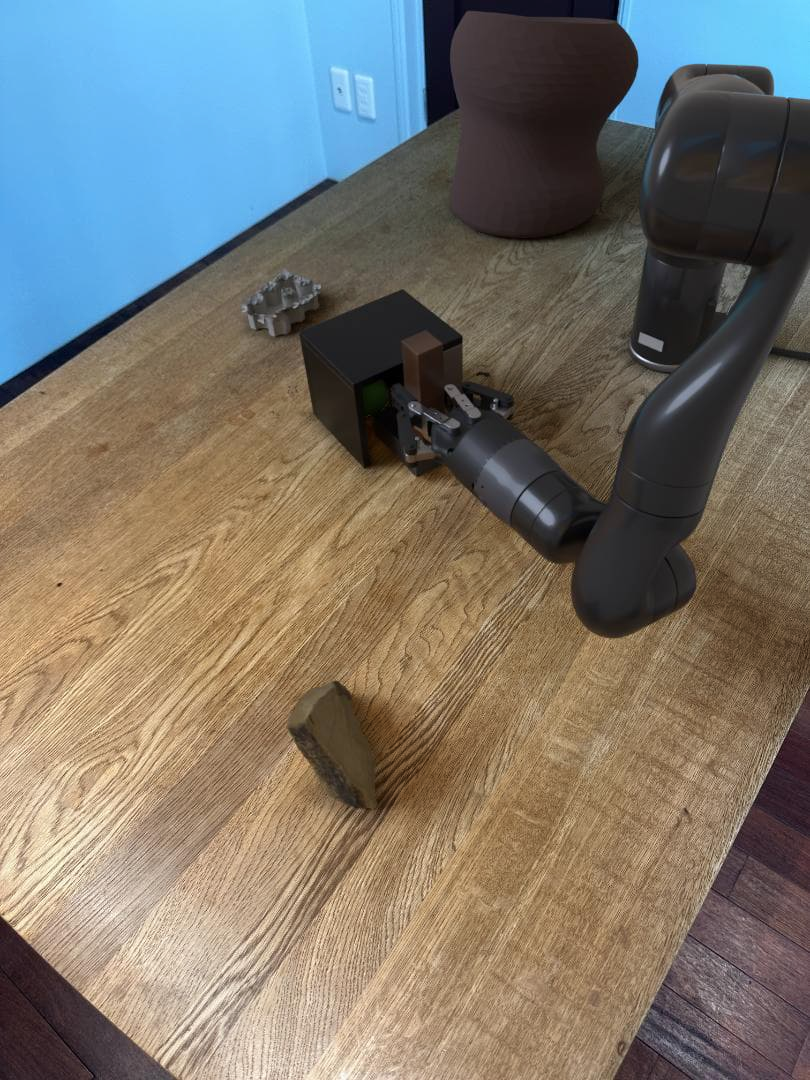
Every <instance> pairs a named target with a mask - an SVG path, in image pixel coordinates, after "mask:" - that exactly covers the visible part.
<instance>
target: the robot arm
mask: <svg viewBox="0 0 810 1080" xmlns="http://www.w3.org/2000/svg"><path fill="white" fill-rule="evenodd" d="M668 77H669V78H668V79H667V80H666V82H665V84H664V86H663V88H662V91H661V93H660V97H659V100H658V103H657V107H656V111H655V118H654V135H653V137H652V140H651V142H650V145H649V147H648V151H647V153H646V157H645V159H644V164H643V168H642V172H641V177H640V178H641V179H640V185H639V195H638V213H639V223H640V227H641V230H642V233H643V235H644V238H645V239H646V240H647V244H646V249H645V254H644V260H643V266H642V271H641V277H640V283H639V288H638V293H637V300H636V305H635V310H634V316H633V321H632V327H631V331H630V336H629V339H628V344H627V351H628V353H629V356H630V357H631V358H632V359H633V361H635V362H636V363H637V364H638V365H641V366H642V367H644V368H646V369H649V370H652V371H656V372H660V373H669V374H668V375H667V376H666V377H664V378H663V380H661V381H660V382H659V383H658V385H656V386H655V387H654V388H653V389H652V390H651V391H650V393H649V394H648V395H647V396H646V397H645V398H644V399H643V401H642V402H641V403H640V405H639V406H638V407H637V409H636V410H635V412H634V414H633V416H632V417H631V420H630V422H629V424H628V426H627V428H626V430H625V435H624V438H623V441H622V445H621V449H620V453H619V457H618V462H617V465H616V468H615V469H616V470H615V473H614V477H613V483H612V487H611V490H610V491H611V492H610V496H609V499H608V501H607V502H605V501H602V500H601V499H598V498H596V497H595V496H594V495H592V493H590V492H589V490H587V489H586V488H585V487H583V486H582V484H580V483H579V482H577V480H576V479H574V477H572V476H571V475H570V474H568V473H567V471H565V470H563V468H562V466H560V465H559V463H557V461H556V460H555V459H554V458H553V457H552V456H551V455H550V454H549V453H547V452H546V451H545V450H544V449H543V448H541V447H540V446H539V445H538V444H537V443H536V442H534V441H533V440H532V439H531V438H529V437H528V436H527V435H526V434H524V432H522V431H521V430H520V429H519V428H517V427H516V426H515V425H514V424H512V422H510V421H511V420H513V419H514V413H515V396H514V395H512V394H509V393H505V392H504V391H500V390H497V389H494V388H491V387H488V386H487V385H483V384H480V383H477V382H475V381H471V380H465V381H463V383H462V386H458V387H456V386H455V385H452V384H448V383H447V382H446V381H444V400H445V408H446V409H447V411H448V412H449V413H446V414H442V413H441V412H439V411H438V410H436V409H434V408H432V407H431V408H429V409H428V408H427V407H425V406H423V405H422V404H420V403H418V402H417V400H416V398H415V397H413V396H412V395H411V394H410V393H409V392H408V391H407V390H406V389H405V388H404V387H403V386H402V385H401V384H400V383H397V384H395V385H393V384H392V385H391V390H390V395H391V403H392V406H394V407H396V408H397V409H398V410H399V411H400V412H398V413H397V421H398V435H399V439H400V443H401V447H402V451H403V455H404V459H405V463H406V466H407V467H408V468H415V467H417V466H418V461H420V460H426V459H433V460H434V461H435V462H437V463H440V464H443V465H442V466H445V467H447V468H448V470H449V471H450V473H451V474H452V475H453V476H454V478H455V479H456V480H457V481H458V482H459V483H460V484H461V485H462V486H463V487H465V488H466V490H467V491H469V492H470V494H472V495H473V496H474V497H475V498H476V499H477V500H478V501H479V502H480V504H481V505H482V506H483V507H485V508H486V509H487V510H488V511H489V512H491V513H492V514H493V516H495V517H496V518H497V519H498V520H499V521H501V522H502V523H504V524H505V525H507V526H508V527H510V528H511V529H512V530H513V531H514V532H515V533H516V534H518V536H520V538H522V539H523V540H524V541H525V542H526V543H527V544H528V545H529V546H530V547H531V548H532V549H533V550H534V551H535V552H536V553H537V554H538V555H540V556H541V557H542V558H544V559H545V560H546V561H548V562H550V563H552V564H555V565H568V564H574V566H573V569H572V574H571V579H570V599H571V603H572V607H573V610H574V612H575V615H576V617H577V618H578V620H579V621H580V623H581V624H582V625H583V626H584V628H585V629H587V630H588V631H589V632H591V633H592V634H594V635H596V636H598V637H601V638H604V639H612V640H613V639H614V640H615V639H622V638H625V637H629V636H631V635H633V634H636V633H638V632H639V631H641V630H644V629H646V628H647V627H649V626H651V625H653V624H655V623H657V622H659V621H660V620H663V619H665V618H667V617H668V616H671V615H672V614H674V613H677V612H678V611H680V610H681V609H683V608H684V607H686V606H687V605H688V604H689V603H690V601H691V600H692V599H693V597H694V595H695V593H696V590H697V583H698V577H697V572H696V569H695V566H694V563H693V561H692V559H691V558H690V556H689V554H688V552H687V551H686V550H685V549H684V547H683V546H682V545H681V543H682V542H684V541H685V540H686V539H688V538H689V537H690V536H691V535H692V534H693V533H694V532H695V530H696V529H697V527H698V526H699V524H700V522H701V520H702V517H703V516H704V513H705V510H706V506H707V503H708V501H709V499H710V498H709V497H710V495H711V492H712V488H713V485H714V482H715V479H716V475H717V473H718V470H719V467H720V464H721V461H722V458H723V455H724V453H725V450H726V447H727V444H728V442H729V439H730V436H731V434H732V431H733V430H734V426H735V425H736V422H737V420H738V418H739V415H740V413H741V410H742V409H743V407H744V404H745V402H746V401H747V398H748V396H749V394H750V393H751V391H752V389H753V387H754V385H755V383H756V380H757V379H758V377H759V375H760V373H761V371H762V369H763V367H764V365H765V363H766V361H767V358H768V357H769V354H771V355H775V356H776V355H777V356H781V357H786V358H791V359H798V360H805V361H810V352H806V351H799V350H792V349H786V348H781V347H775V342H776V341H777V339H778V337H779V334H780V332H781V330H782V328H783V326H784V324H785V322H786V320H787V318H788V315H789V314H790V311H791V309H792V307H793V306H794V304H795V300H796V298H797V296H798V295H799V293H800V290H801V288H802V287H803V286H802V285H803V284H804V282H805V280H806V277H807V276H808V274H809V271H810V98H809V99H808V98H799V97H791V96H790V97H785V96H781V95H780V96H779V95H775V81H774V75H773V73H772V71H771V70H770V69H769V68H767V67H766V66H760V65H746V64H722V63H721V64H718V63H717V64H716V63H708V64H707V63H689V64H685V65H682V66H680V67H678V68H676V69H675V70H674V71H673V72H672V74H671V75H670V76H668ZM728 264H731V265H732V264H733V265H742V266H746V267H750V270H749V273H748V275H747V277H746V279H745V282H744V284H743V287H742V289H741V290H740V292H739V294H738V296H737V297H736V300H735V302H734V303H733V305H732V306H731V308H730V309H729V311H728V312H723V311H722V312H721V311H717V307H718V303H719V298H720V293H721V288H722V284H723V280H724V278H725V277H724V276H725V273H726V269H727V265H728ZM474 395H475V396H478V397H479V398H477V397H475V396H474ZM412 428H415V429H416V430H418V431H419V432H421V433H422V434H423V437H424V438H425V439H426V440H428V441H429V442H431V446H427V445H425V444H424V443H423V441H421V440H420V438H419V437H415V436H414V433H413V429H412ZM406 466H405V467H406ZM407 467H406V468H407ZM408 468H407V469H408Z"/></svg>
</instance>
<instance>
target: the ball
mask: <svg viewBox="0 0 810 1080" xmlns="http://www.w3.org/2000/svg"><path fill="white" fill-rule="evenodd" d="M362 391H363V399H364V408H365V416H366V417H373V416H372V415H374V414H376V413H378V412H381V411H383V410H385V409H386V407H387V405H388V402H389V399H390V398H389V397H390V392H389V387H387V385H386V384H385V382H384V381H383V380H379V381H377V382H375V383H373V384H371V385H368V386H366V387H364V388H362Z"/></svg>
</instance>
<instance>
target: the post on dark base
mask: <svg viewBox="0 0 810 1080" xmlns="http://www.w3.org/2000/svg"><path fill="white" fill-rule="evenodd" d="M401 343H402V357H403V371H404V385H405V389H406V390H407V391H408V392H409V393H410V394H411V395H412V396H413V397H415V398H416V400H417V402H418V403H420V404H422V405H423V406H425V407H427V408H428V409H429V408H431V407H432V408H434V409H436V410H438V411H439V412H441V413H442V414H445V400H444V361H443V343H441V342H440V341H439V340H438V339H436V338H435V337H434V336H433V335H431V334H430V333H429V332H428V331H427V330H425V331H423V332H421V333H418V334H416V335H414V336H411V337H409V338H407V339H404V340H402V341H401ZM398 412H400V411H399V410H398V409H397V408H396V407H394V406H393V405H391V406H389V407H387V408H384V409H383V410H382V411H381V412H378V413H376V414H374V415H372V416H371V417H372V425H373V433H374V436H375V437H376V438H377V439H378V440H379V441H380V442H381V443H382V444H383V445H384V446H385V447H386V448H387V449H388V450H389V451H390V452H391V453H392V455H394V456H395V457H396V458H397V459H398V460H399V461H400V462H401V463H402V465H404V466H405V467H406V468H407V469H408V470H409V471H410V473H412V474H413V476H414V477H416V478H419V477H422V476H424V475H425V474H427V473H429V472H431V471H434V470H435V469H438V468H439V467H442V466H444V465H443V464H440V463H437V462H435V461H434V460H433V459H426V460H420V461H418V466H417V467H415V468H408V467H407V466H406V463H405V459H404V455H403V451H402V447H401V443H400V439H399V435H398V421H397V413H398ZM412 429H413V433H414V436H415V437H419V438H420V440H421V441H423V443H424V444H425V445H427V446H431V442H429V441H428V440H426V439H425V438H424V437H423V434H422V433H421V432H419V431H418V430H416V429H415V428H412Z"/></svg>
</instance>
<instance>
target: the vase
mask: <svg viewBox="0 0 810 1080" xmlns="http://www.w3.org/2000/svg"><path fill="white" fill-rule="evenodd" d="M449 54H450V55H449V62H450V63H449V64H450V71H451V76H452V82H453V83H452V84H453V89H454V92H455V93H454V94H455V95H456V96H455V97H456V100H457V103H458V108H459V114H460V136H459V143H458V150H457V154H456V161H455V166H454V171H453V176H452V181H451V186H450V190H449V197H448V199H449V205H450V208H451V210H452V212H453V213H454V215H455V216H456V218H457V219H458V220H459V221H460V222H462V223H463V224H465V225H466V226H467V227H469V228H471V229H473V230H475V231H478V232H479V233H483V234H487V235H491V236H494V237H495V236H496V237H503V238H516V239H534V238H535V239H537V238H542V237H549V236H554V235H558V234H562V233H565V232H567V231H571V230H572V229H573V230H574V229H575V228H576V227H578V226H579V225H581V224H583V223H585V222H586V221H587V220H588V219H590V218H591V217H592V216H593V215H594V213H596V211H597V209H598V208H599V205H600V204H601V201H602V199H603V197H604V193H605V190H606V177H605V171H604V169H603V167H602V165H601V162H600V159H599V157H598V150H597V145H598V141H599V137H600V134H601V132H602V130H603V128H604V126H605V125H606V123H607V120H608V119H609V118H610V116H611V115H612V114H613V112H615V110H616V109H617V108H618V106H620V104H621V103H622V102H623V100H624V99H625V97H626V96H627V95H628V93H629V92H630V90H631V88H632V87H633V85H634V82H635V80H636V78H637V73H638V71H639V52H638V49H637V47H636V45H635V43H634V41H633V39H632V37H631V36H630V34H629V33H628V32H627V31H626V29H625V28H624V27H623V26H622V25H621V24H620V23H619V22H618V21H617V20H613V19H606V18H595V17H570V16H569V17H568V16H567V17H565V16H559V17H557V16H523V15H516V14H509V13H502V12H501V13H500V12H489V11H486V12H485V11H477V10H467V11H466V12H465V13H464V15H463V16H462V18H461V20H460V21H459V23H458V25H457V27H456V29H455V30H454V33H453V37H452V39H451V44H450V52H449Z"/></svg>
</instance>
